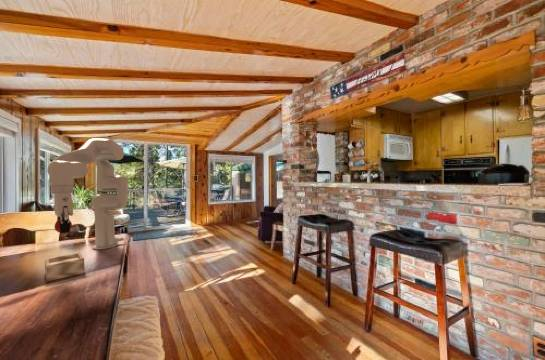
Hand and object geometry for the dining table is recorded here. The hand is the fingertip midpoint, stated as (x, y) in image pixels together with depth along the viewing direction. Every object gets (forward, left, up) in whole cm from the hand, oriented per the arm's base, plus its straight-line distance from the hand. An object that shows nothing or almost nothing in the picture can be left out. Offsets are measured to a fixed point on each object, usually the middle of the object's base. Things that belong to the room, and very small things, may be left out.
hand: (63, 231), depth 106 cm
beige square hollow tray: (0, 0, -19) cm, 19 cm away
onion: (0, 0, -2) cm, 2 cm away
